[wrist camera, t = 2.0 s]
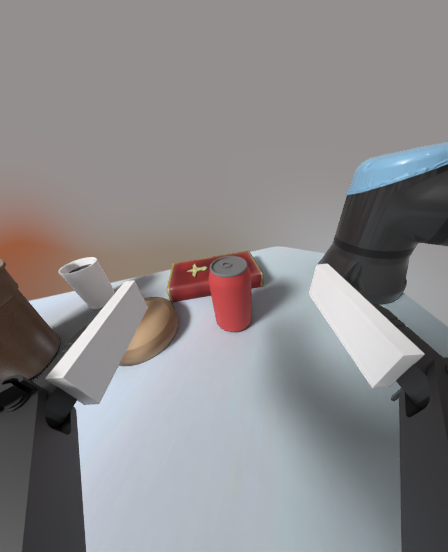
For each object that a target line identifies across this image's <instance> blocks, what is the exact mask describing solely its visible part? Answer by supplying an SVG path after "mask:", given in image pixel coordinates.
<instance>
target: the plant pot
mask: <svg viewBox="0 0 448 552" xmlns="http://www.w3.org/2000/svg"><path fill="white" fill-rule="evenodd" d="M5 265H6V263H5V262H4V261H3V260H1V259H0V381H1V380H3V379H5V378H8V377H10V376H12V375H18V374H19V375H22V376H24V377H25V378H27V379H30V378H32V377H34V376H36V375H38V374H39V373H40V372H41V371H42V370H43V369H44V368H45V367H46V366H47V365H48V364H49V363H50V361H51V360H52V359H53V357H54V356H55V354H56V353H57V351H58V349H59V346H60V338H59V337H58V335H57V334H56V333H55V332H54V331H53V330H52V329H51V328H50V326H49V325H48V324H47V323H46V322H45V321H44V320H43V318H42V317H41V316H40V315H39V314H38V312H37V311H36V310H35V309H34V308H33V306H32V305H31V304H30V303H29V302H28V301H27V299H26V298H25V297H24V296H23V295H22V293H21V292H20V291H19V290H18V284H17V283H16V282H15V281H14V280H13V278H12V277H11V276H10V275H9V273H8V272H7V271H6V269H5Z"/></svg>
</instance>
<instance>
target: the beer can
mask: <svg viewBox="0 0 448 552" xmlns="http://www.w3.org/2000/svg"><path fill="white" fill-rule="evenodd" d="M209 286H210V291H211V296H212V301H213V306H214V311H215V316H216V321H217V324H218V325H219V326H220V327H221V328H222V329H224V330H225V331H229V332H238V331H241V330H244V329H245V328H246V327H248V325H249V324H250V322H251V319H252V302H251V274H250V270H249V268H248V265H247V262H246V261H245V260H244V259H243V258H241V257H237V256H225V257H221V258H218V259H216V260H215V261H213V262H212V263H211V265H210V273H209Z"/></svg>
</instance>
